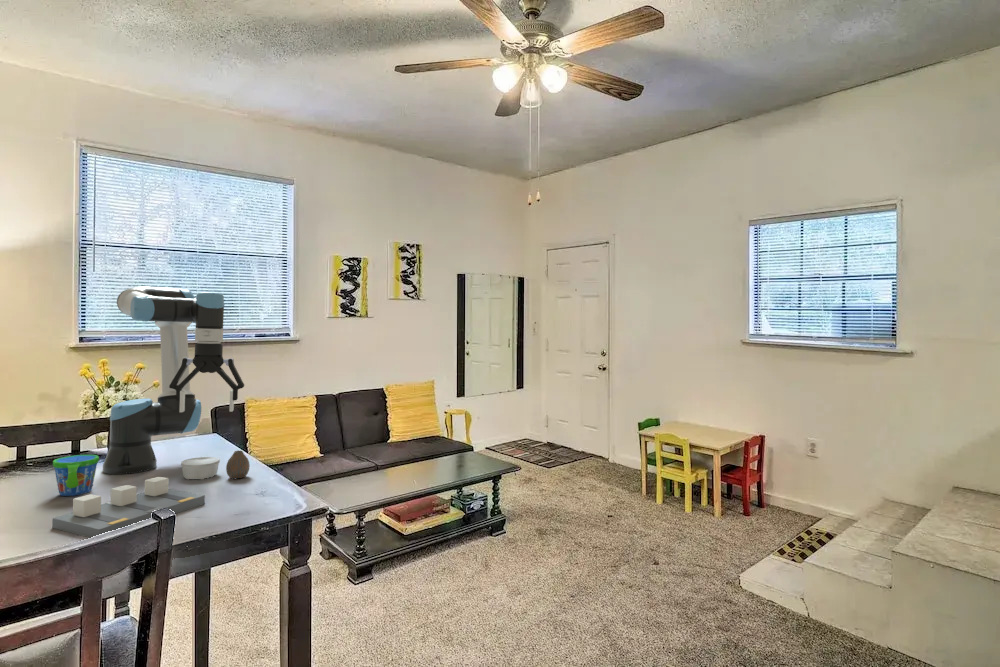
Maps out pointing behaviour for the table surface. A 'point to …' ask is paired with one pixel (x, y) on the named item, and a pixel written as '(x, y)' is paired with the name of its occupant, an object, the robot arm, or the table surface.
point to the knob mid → (123, 495)
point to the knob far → (156, 486)
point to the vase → (237, 465)
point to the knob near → (86, 505)
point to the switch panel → (126, 513)
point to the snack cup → (75, 474)
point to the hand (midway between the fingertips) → (207, 411)
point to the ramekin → (200, 467)
